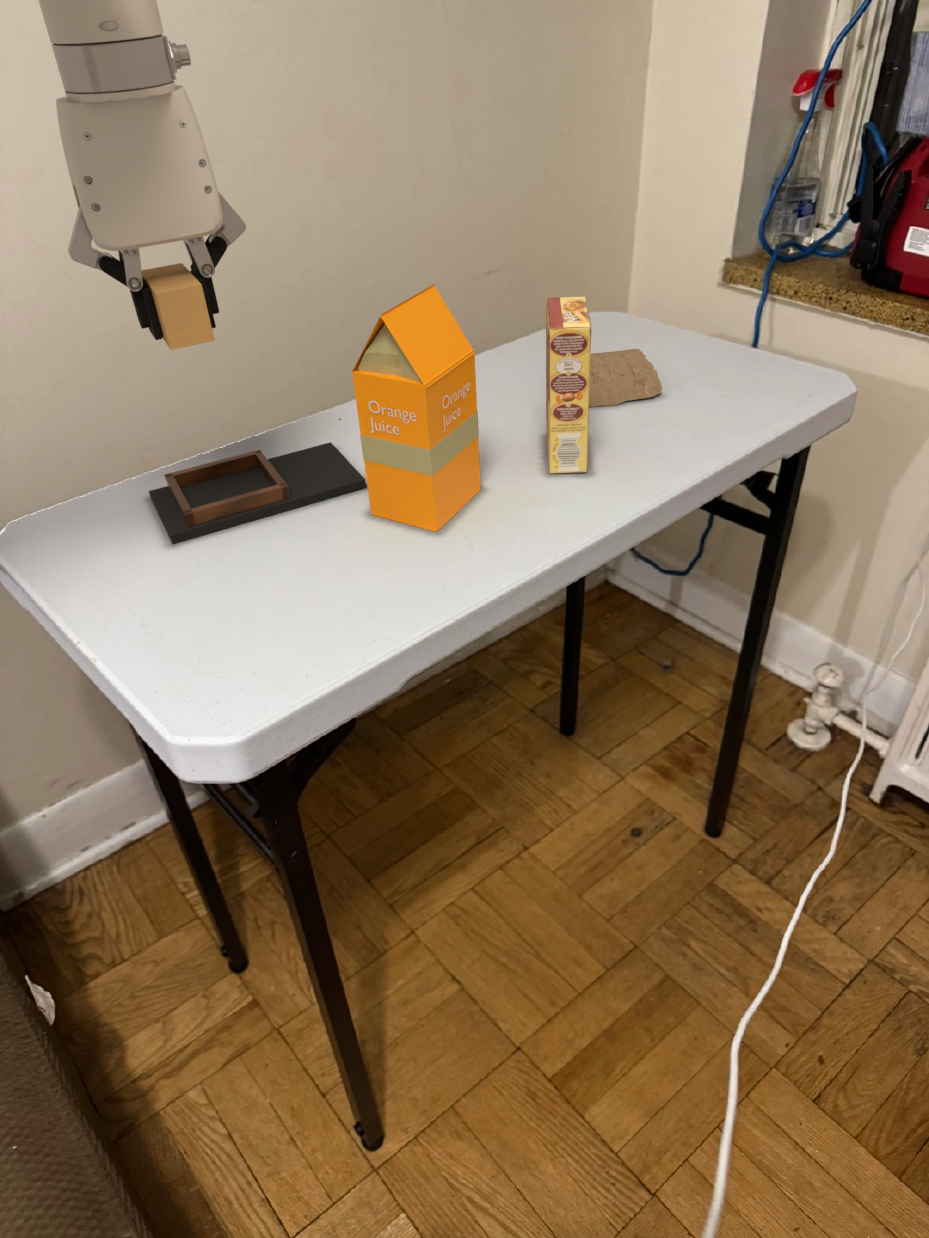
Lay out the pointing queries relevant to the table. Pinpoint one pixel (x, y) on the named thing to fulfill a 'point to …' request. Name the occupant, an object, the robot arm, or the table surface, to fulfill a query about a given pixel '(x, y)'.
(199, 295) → the brown block
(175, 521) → the back pad
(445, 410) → the orange juice
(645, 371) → the clay tablet
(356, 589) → the table surface
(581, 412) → the candy box
